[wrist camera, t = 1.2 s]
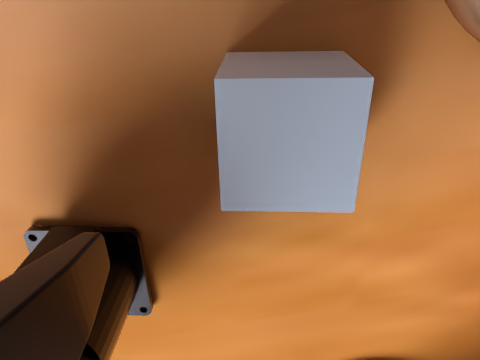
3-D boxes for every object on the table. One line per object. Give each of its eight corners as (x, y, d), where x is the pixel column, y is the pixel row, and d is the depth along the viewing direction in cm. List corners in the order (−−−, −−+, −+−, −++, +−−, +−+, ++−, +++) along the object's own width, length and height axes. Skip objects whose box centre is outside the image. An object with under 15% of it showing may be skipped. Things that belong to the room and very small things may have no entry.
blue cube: (331, 156, 18) (353, 212, 14) (230, 156, 18) (220, 210, 14) (343, 50, 16) (374, 77, 11) (226, 51, 16) (213, 78, 12)
